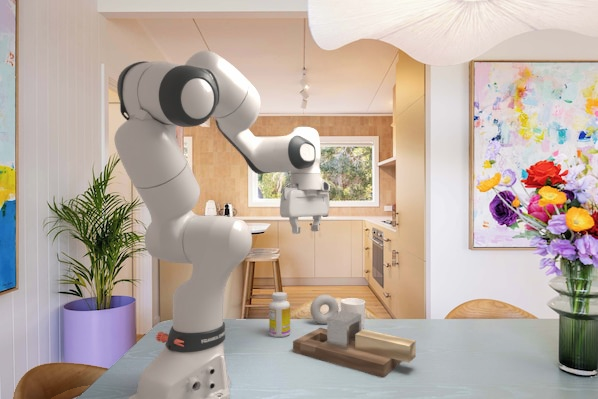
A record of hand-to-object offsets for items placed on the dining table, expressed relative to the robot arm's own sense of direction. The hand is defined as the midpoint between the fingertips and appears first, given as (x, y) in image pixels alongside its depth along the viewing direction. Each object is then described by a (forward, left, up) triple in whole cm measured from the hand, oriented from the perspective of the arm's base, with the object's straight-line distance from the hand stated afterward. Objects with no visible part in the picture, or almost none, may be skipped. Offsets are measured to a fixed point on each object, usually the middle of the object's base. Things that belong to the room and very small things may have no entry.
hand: (305, 232), depth 111 cm
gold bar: (+2, -23, -30) cm, 38 cm away
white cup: (+19, -5, -33) cm, 39 cm away
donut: (+21, +7, -33) cm, 40 cm away
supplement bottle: (+4, +13, -33) cm, 36 cm away
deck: (+2, -12, -33) cm, 35 cm away
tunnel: (+2, -12, -30) cm, 32 cm away
